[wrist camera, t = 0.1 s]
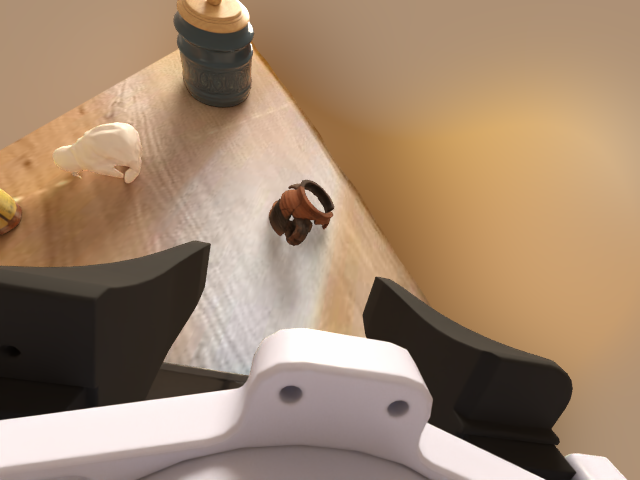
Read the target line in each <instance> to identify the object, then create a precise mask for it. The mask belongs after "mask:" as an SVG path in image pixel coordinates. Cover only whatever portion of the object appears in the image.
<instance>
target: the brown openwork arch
mask: <svg viewBox="0 0 640 480" xmlns="http://www.w3.org/2000/svg"><path fill="white" fill-rule="evenodd" d="M291 188H294V189H295V190H288V191H285V192H284V193H283V194H282V196H281V199H279V200H278V201H276V202H275V203H274V204H273V206H272V209H271V210H270V213H269V220H270V224H271V226H272V228H273V230H274V231H275V232H276V233H277V234H278V235H279V236H282V234H284V233H285V236H286V241H287V242H288V243H289V244H291V245H293V246H295V245H299V244H301V243H302V242H303V241H304V240H305V238H306V236H307V234H308V233H309V232H310V231H311V228H312V222H311V221H310V220H314V224H315V225H322V228H323V229H325V228H327V226H328V224H329V221H330V218H331V217H332V216H333V213H332V212H331V211H332V210H333V209H334V205H333V202H332V200H331V198H330V197H329V195H328V194H327V193H326V192H325V190H324V189H323V188H322V187H321V186H319V185H318V184H317V183H315V182H313V181H310V180H303V181H302V182H301V184H294V185H291V186H289V189H291ZM304 189H306V190H309V191H311V192H312V193H313V194H314V195H315V196H317V197H318V200H319V201H320V202H321V204H322V205H323V207H324V210H325V213H323V212H321V211H318V210H317V209H316V208H315V207H314V206H313V205H312V204H311V202H310V201H309V200H308V198H307V196H306V194H305V190H304ZM291 215H292V216H293V218H294V219H293V221H290V220H289V219H290V217H291Z"/></svg>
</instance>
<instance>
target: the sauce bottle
mask: <svg viewBox="0 0 640 480" xmlns="http://www.w3.org/2000/svg"><path fill="white" fill-rule="evenodd" d="M21 216H22V210H21V207H20V206H19V205H18V204H17V203H16V202H15V201H14V200H13V198H12V197H11V196H9V195H8V194H7V193H6V192H4V191H3V190H2V189H1V188H0V235H2V234H4V233H6V232H8V231H10V230H11V229H13V228H14V227H16V226H17V225H18V223H19V222H20V220H21Z"/></svg>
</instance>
